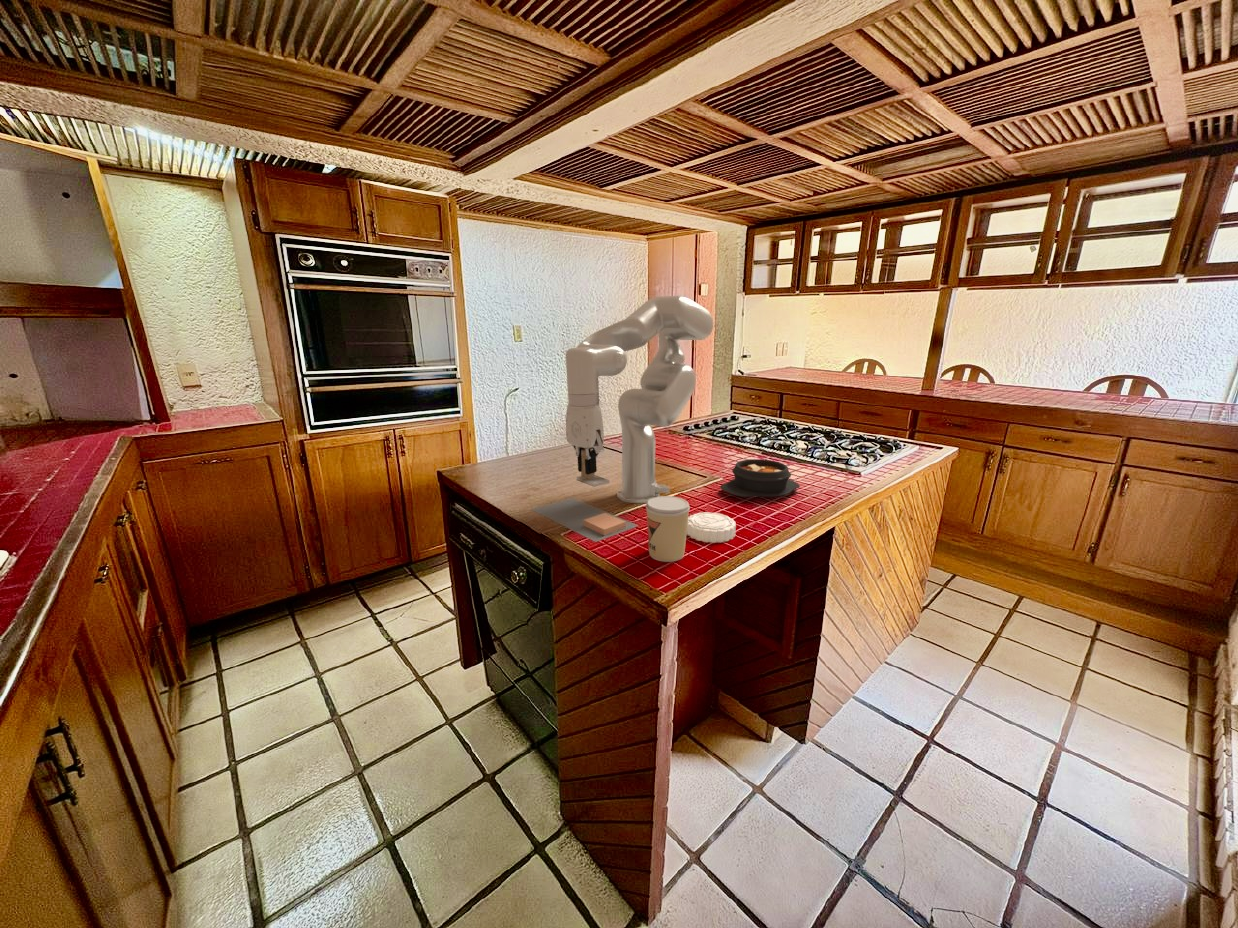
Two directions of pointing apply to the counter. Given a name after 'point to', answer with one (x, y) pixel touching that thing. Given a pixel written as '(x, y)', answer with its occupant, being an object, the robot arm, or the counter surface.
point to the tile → (604, 524)
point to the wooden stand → (590, 478)
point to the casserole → (760, 479)
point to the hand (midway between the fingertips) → (587, 471)
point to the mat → (577, 517)
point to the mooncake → (711, 527)
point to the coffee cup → (667, 527)
